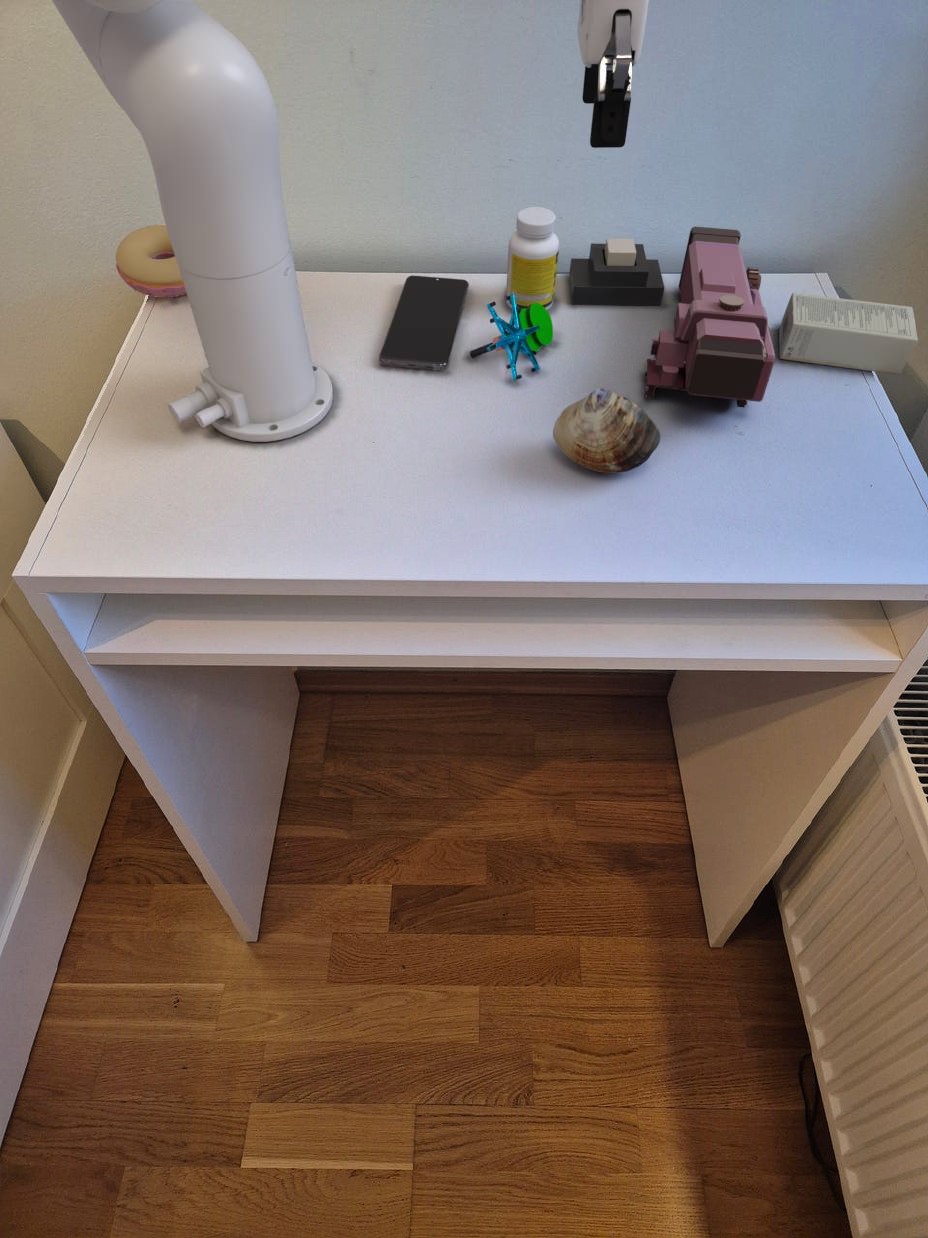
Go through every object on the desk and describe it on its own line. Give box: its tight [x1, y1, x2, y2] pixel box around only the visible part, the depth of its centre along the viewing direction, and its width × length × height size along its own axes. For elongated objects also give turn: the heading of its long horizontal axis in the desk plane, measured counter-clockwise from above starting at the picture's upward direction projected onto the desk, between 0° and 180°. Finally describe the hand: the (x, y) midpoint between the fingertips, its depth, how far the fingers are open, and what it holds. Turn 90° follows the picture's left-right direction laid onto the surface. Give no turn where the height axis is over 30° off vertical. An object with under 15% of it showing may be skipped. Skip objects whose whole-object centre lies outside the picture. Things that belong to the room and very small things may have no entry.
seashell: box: [552, 388, 662, 474], centre depth 70 cm, size 10×6×8 cm, turn 70°
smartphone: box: [378, 274, 470, 371], centre depth 86 cm, size 7×1×16 cm
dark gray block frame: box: [568, 242, 665, 307], centre depth 89 cm, size 10×6×4 cm, turn 89°
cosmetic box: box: [778, 292, 919, 376], centre depth 82 cm, size 6×4×12 cm
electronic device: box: [644, 226, 776, 409], centre depth 79 cm, size 11×27×10 cm, turn 171°
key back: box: [604, 237, 636, 266], centre depth 87 cm, size 3×3×2 cm
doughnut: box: [115, 224, 187, 299], centre depth 91 cm, size 11×11×4 cm
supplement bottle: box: [505, 206, 560, 311], centre depth 86 cm, size 5×5×10 cm
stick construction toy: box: [469, 294, 554, 381], centre depth 82 cm, size 12×7×8 cm
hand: (602, 123), depth 76 cm, fingers open, 9 cm apart
